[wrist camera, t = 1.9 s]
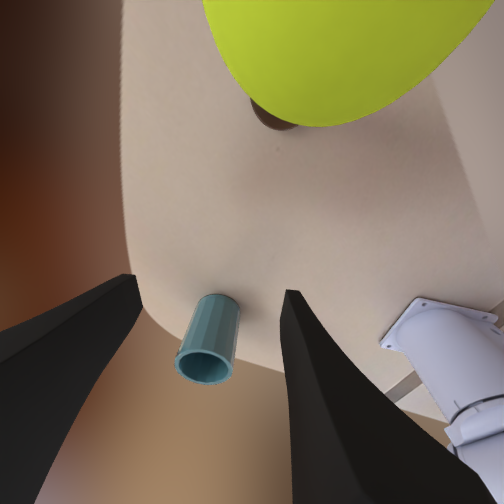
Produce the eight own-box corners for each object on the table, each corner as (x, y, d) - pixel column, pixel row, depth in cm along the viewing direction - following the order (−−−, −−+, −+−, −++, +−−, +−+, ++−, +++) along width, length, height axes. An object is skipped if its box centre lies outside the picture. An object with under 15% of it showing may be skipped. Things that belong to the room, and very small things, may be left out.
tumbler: (244, 299, 24) (237, 356, 17) (235, 329, 26) (227, 388, 20) (198, 289, 23) (175, 344, 17) (194, 321, 26) (173, 379, 20)
